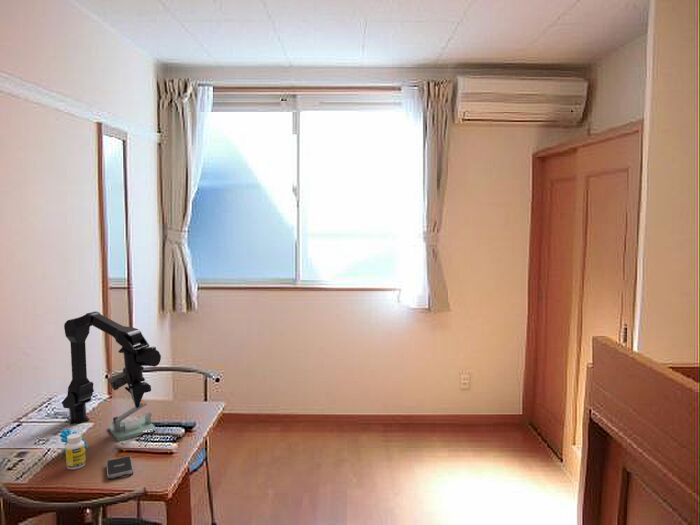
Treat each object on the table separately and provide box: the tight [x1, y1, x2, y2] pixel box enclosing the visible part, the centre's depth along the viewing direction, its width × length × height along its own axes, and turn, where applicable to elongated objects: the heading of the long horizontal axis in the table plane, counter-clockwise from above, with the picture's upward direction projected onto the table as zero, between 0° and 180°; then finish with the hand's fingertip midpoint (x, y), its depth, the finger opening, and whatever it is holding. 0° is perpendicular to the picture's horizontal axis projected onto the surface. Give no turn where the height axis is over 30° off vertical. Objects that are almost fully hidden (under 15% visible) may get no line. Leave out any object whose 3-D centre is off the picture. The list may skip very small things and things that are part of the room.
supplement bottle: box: [64, 432, 87, 470], centre depth 171 cm, size 5×5×10 cm
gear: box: [59, 429, 89, 454], centre depth 182 cm, size 11×6×10 cm
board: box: [108, 416, 157, 442], centre depth 198 cm, size 14×13×1 cm
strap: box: [116, 399, 147, 421], centre depth 198 cm, size 11×2×2 cm, turn 126°
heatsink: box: [121, 415, 140, 431], centre depth 198 cm, size 6×5×3 cm
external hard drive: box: [106, 455, 134, 481], centre depth 167 cm, size 7×11×2 cm, turn 25°
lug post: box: [144, 412, 152, 424], centre depth 201 cm, size 4×1×6 cm, turn 36°
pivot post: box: [111, 416, 121, 432], centre depth 195 cm, size 4×2×6 cm, turn 36°
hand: (137, 406), depth 199 cm, fingers closed, pressing on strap
